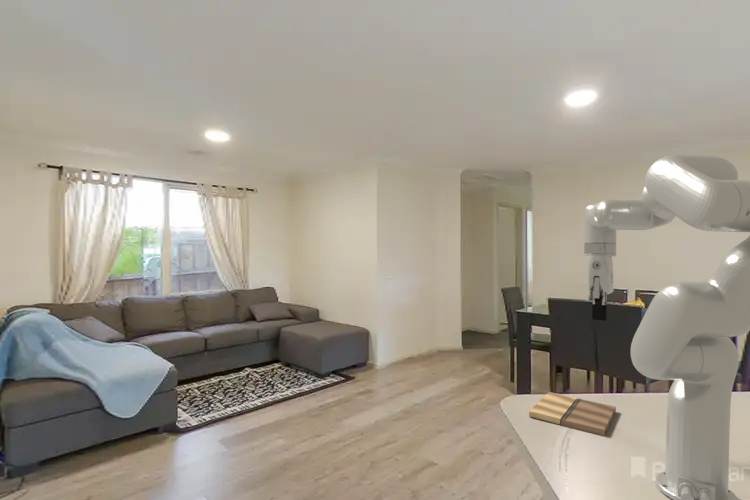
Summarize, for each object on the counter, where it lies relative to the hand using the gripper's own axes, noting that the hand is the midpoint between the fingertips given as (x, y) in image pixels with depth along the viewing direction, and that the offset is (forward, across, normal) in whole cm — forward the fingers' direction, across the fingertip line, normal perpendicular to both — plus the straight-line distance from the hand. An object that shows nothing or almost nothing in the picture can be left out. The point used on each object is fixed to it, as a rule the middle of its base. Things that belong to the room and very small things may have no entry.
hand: (599, 319), depth 112 cm
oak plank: (+27, +4, +12) cm, 30 cm away
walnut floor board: (+28, +4, +3) cm, 28 cm away
